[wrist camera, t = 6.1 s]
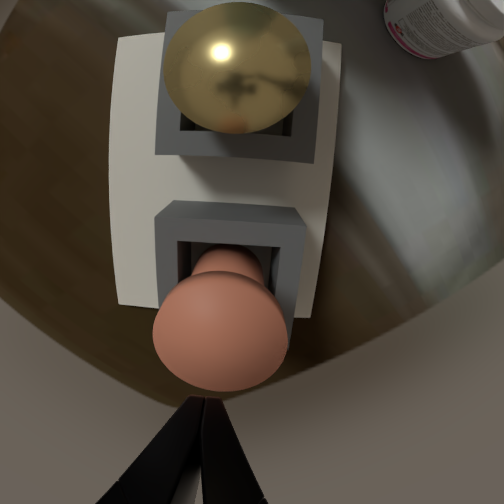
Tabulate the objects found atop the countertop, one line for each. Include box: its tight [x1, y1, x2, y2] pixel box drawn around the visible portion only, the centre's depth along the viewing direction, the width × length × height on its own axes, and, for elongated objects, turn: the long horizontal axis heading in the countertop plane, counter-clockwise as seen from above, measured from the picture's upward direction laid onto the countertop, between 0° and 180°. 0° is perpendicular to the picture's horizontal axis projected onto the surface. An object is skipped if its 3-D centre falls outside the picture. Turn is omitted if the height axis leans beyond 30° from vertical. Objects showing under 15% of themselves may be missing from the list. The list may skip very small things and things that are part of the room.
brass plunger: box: [163, 2, 311, 134], centre depth 11 cm, size 5×5×6 cm
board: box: [109, 10, 342, 350], centre depth 14 cm, size 12×16×4 cm
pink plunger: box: [153, 243, 288, 391], centre depth 13 cm, size 5×5×6 cm
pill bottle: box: [384, 0, 504, 59], centre depth 9 cm, size 5×5×8 cm
